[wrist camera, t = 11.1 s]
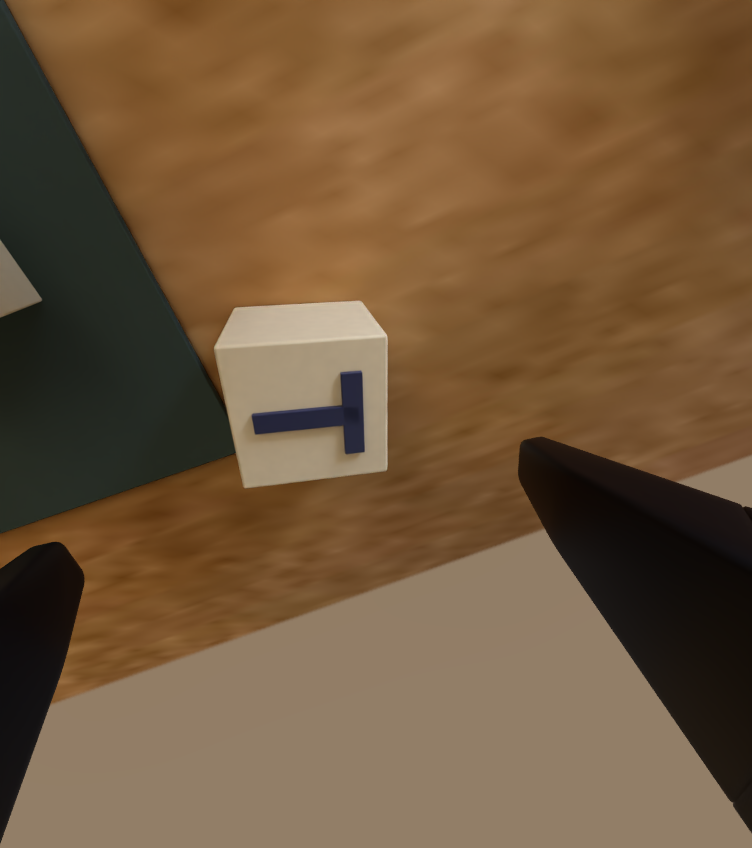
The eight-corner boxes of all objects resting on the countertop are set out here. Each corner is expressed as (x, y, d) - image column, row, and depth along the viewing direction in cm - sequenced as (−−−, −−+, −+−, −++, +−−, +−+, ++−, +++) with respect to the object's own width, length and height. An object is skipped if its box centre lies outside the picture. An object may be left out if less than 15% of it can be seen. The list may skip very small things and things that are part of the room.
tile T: (361, 300, 15) (389, 336, 11) (364, 410, 17) (388, 474, 13) (233, 306, 14) (211, 348, 10) (254, 421, 16) (242, 493, 12)
